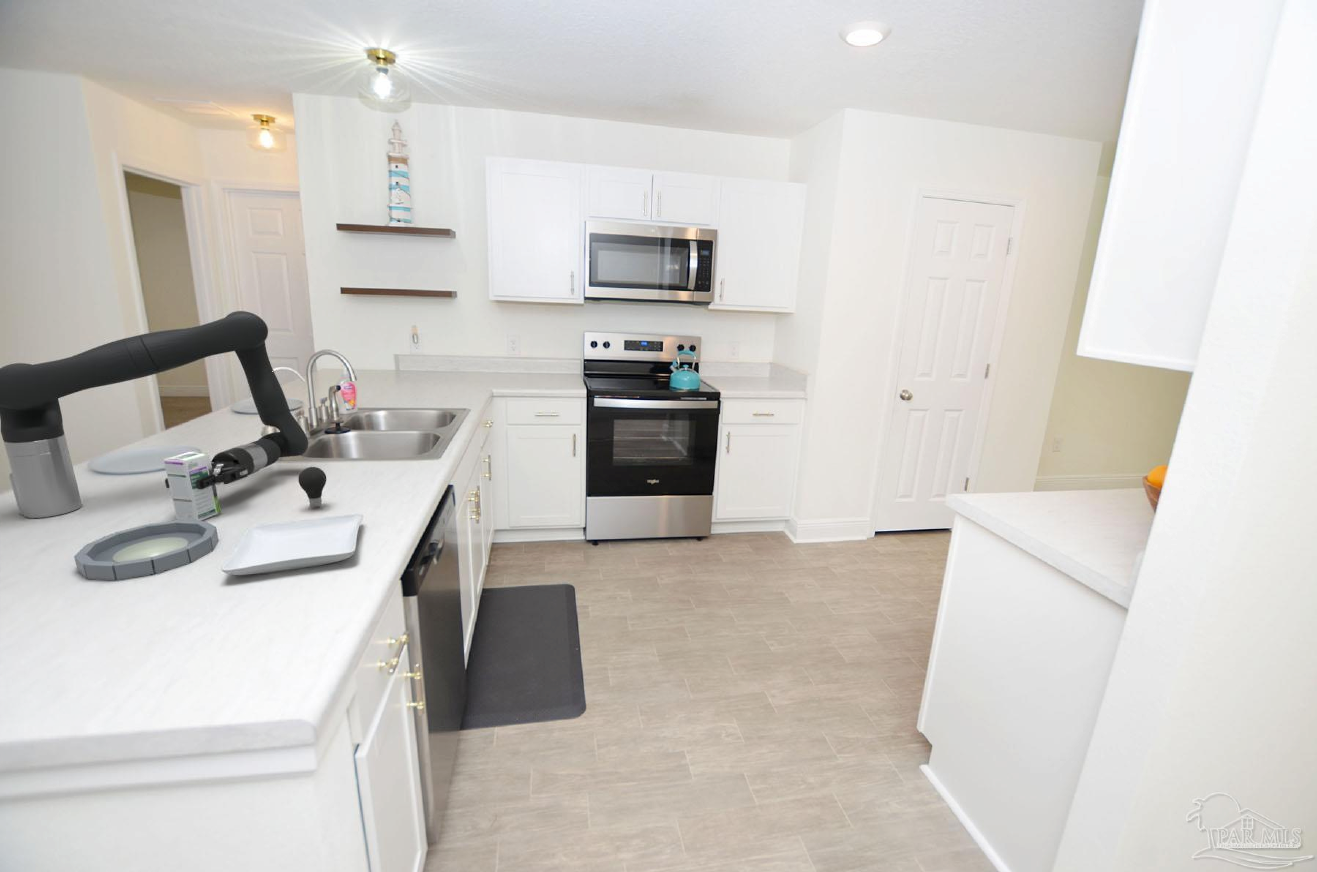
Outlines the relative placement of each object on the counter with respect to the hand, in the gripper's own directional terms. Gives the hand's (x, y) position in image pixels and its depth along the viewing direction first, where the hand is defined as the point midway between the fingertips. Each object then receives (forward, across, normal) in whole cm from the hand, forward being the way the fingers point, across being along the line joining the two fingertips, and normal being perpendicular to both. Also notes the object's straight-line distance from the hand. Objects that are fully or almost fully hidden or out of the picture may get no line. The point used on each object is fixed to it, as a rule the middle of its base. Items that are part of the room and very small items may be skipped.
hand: (182, 484), depth 124 cm
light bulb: (-10, +22, +9) cm, 26 cm away
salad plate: (+12, +33, +9) cm, 36 cm away
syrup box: (-2, 0, +9) cm, 9 cm away
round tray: (+16, +6, +8) cm, 19 cm away
